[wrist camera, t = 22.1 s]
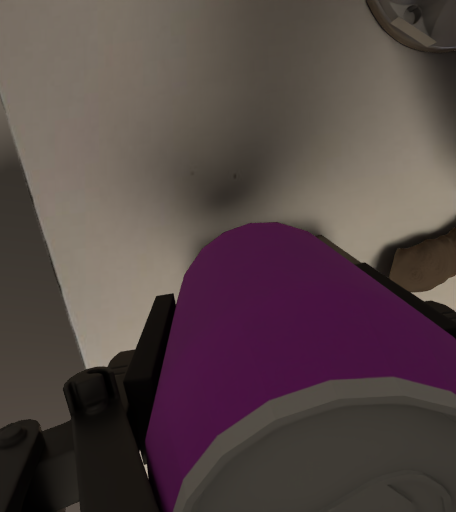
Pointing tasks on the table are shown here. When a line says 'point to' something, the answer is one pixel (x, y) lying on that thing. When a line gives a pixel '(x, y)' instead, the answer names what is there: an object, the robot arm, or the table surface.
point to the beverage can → (299, 387)
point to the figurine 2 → (425, 263)
